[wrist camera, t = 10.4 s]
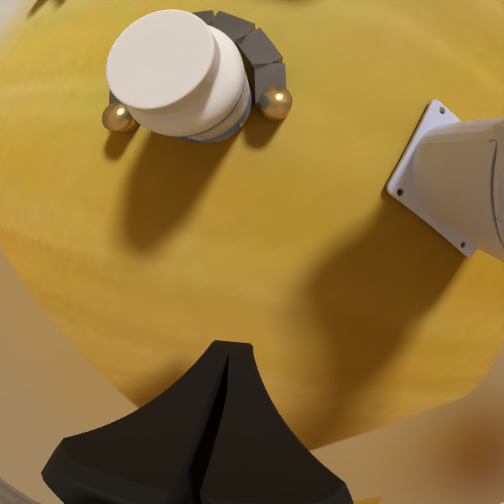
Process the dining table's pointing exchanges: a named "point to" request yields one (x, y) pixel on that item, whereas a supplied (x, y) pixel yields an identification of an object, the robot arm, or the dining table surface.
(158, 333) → the dining table surface
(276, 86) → the snap ring
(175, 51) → the pill bottle
